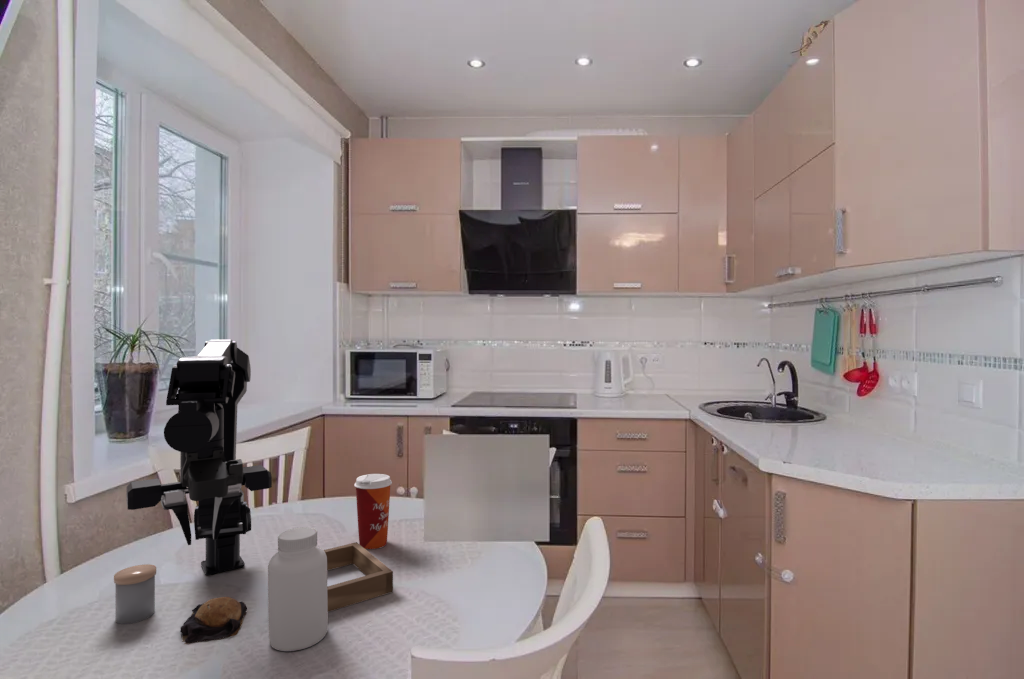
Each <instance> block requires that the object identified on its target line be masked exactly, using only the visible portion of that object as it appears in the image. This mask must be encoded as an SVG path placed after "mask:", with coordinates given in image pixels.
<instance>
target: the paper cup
mask: <svg viewBox="0 0 1024 679" xmlns="http://www.w3.org/2000/svg"><path fill="white" fill-rule="evenodd" d="M392 484H393V482H392V480H391V476H390V475H388V474H386V473H369V474H363V475H360V476H358V477H357V478H356V479H355V482H354V487H355V494H356V495H355V497H356V512H357V529H358V530H357V531H358V533H357V534H358V544H359V545H361V546H362V547H363V548H364V549H366V550H377V549H380V548H381V549H382V548H384V547H385V546H386V545H387V544H388V535H389V534H388V533H389V532H388V531H389V518H390V516H389V515H390V500H391V499H390V497H391V485H392Z"/></svg>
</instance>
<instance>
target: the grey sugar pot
mask: <svg viewBox="0 0 1024 679" xmlns="http://www.w3.org/2000/svg"><path fill="white" fill-rule="evenodd" d="M156 575H157V566H156V565H154V564H149V563H148V564H145V563H144V564H137V565H133V566H129V567H125V568H124V569H121V570H119V571H117V572H115V574H114V575H113V583H114V584H115V593H114V594H115V606H114V607H115V608H114V609H115V613H114V614H115V617H114V618H115V622H116V623H117V624H119V625H128V624H129V625H131V624H136V623H139V622H142V621H144V620H146V619H148V618H150V617H151V616H153V615H154V614H155V612H156V609H155V608H156V607H155V606H156V603H155V602H156V598H155V597H156V596H155V595H156V594H155V593H156Z"/></svg>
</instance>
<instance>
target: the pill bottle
mask: <svg viewBox="0 0 1024 679" xmlns="http://www.w3.org/2000/svg"><path fill="white" fill-rule="evenodd" d="M324 550H325V549H323V548H321V547H320V546H318V531H317V529H316V528H312V527H297V528H296V527H295V528H291V529H288V530H283V531H282V532H281V533H279V535H278V536H277V552H276V553H275V554H273V556H271V558H270V559H269V562H268V566H267V592H268V593H267V601H268V604H267V608H268V609H267V610H268V612H267V618H268V620H267V621H268V623H267V624H268V641H269V642H268V643H269V644H270V646H271V647H272V648H273V649H275V650H277V651H281V652H295V651H300V650H304V649H306V648H310V647H312V646H314V645H316V644H318V643H319V642H320V641H321V640H323V639H324V638H325V636H326V635H327V632H328V629H329V628H328V625H329V622H328V621H329V618H328V617H329V614H328V613H329V612H328V597H327V586H328V570H327V556H326V553H325V551H324Z"/></svg>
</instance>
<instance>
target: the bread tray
mask: <svg viewBox="0 0 1024 679" xmlns="http://www.w3.org/2000/svg"><path fill="white" fill-rule="evenodd" d="M323 550H324V551H325V553H326V556H327V571H331V570H334V569H338V568H342V567H345V566H350V565H354V567H356V568H357V569H358V570H359V571H360V572H361V573H363V576H360V577H356V578H353V579H350V580H346V581H342V582H338V583H335V584H331V585H327V597H328V613H329V612H333V611H336V610H340V609H343V608H345V607H349V606H353V605H355V604H358V603H361V602H364V601H368V600H371V599H375V598H378V597H382V596H384V595H387V594H390V593H391V594H392V593H393V592H394V571H393V570H392V569H390V567H388V566H387V565H386V564H385V563H383V562H382V561H381V560H379V559H378V558H377V557H375V555H373V554H372V553H370V552H369V551H368V549H364V548H363V547H362V546H361V545H359V542H351V543H348V544H344V545H339V546H335V547H329V548H326V549H323Z"/></svg>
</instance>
